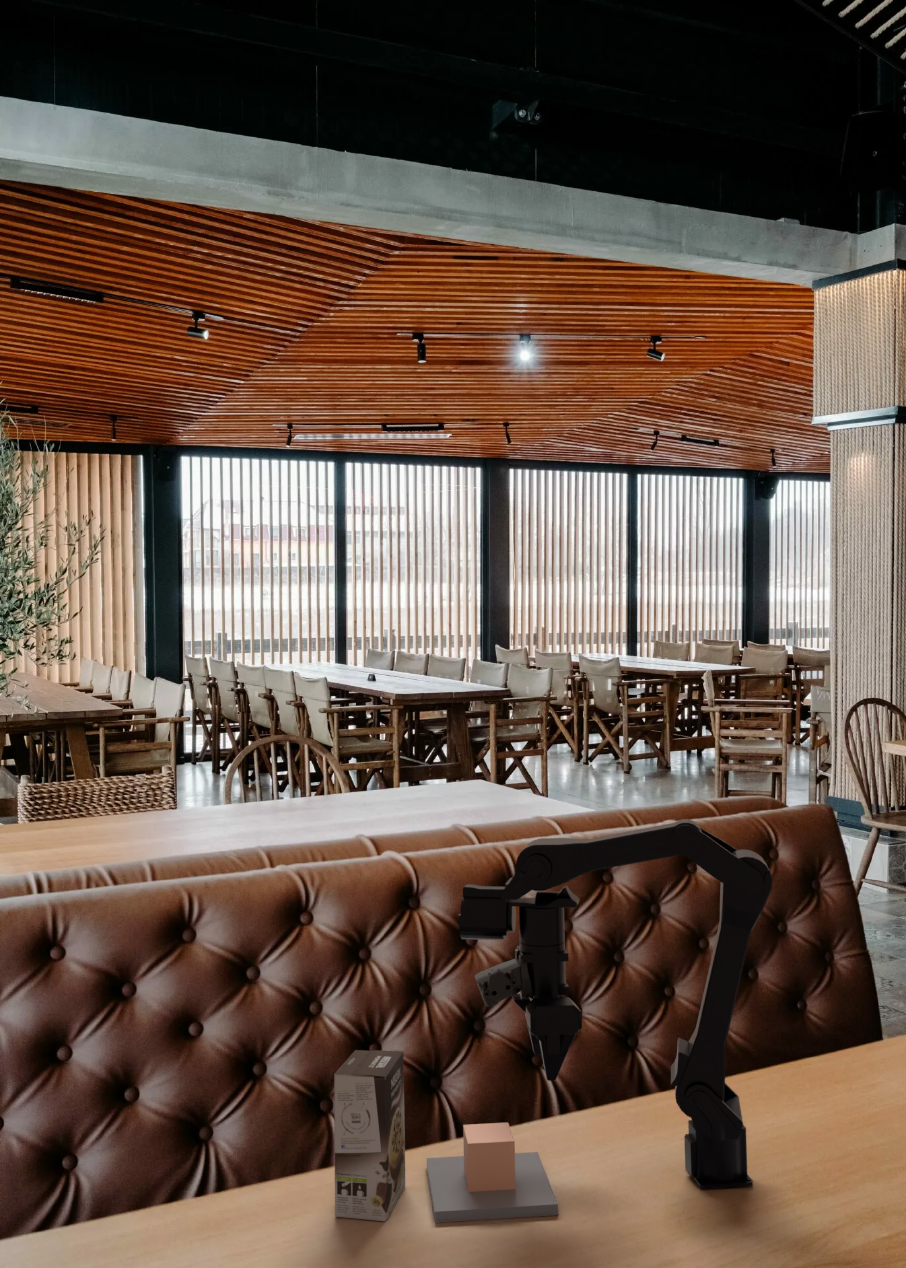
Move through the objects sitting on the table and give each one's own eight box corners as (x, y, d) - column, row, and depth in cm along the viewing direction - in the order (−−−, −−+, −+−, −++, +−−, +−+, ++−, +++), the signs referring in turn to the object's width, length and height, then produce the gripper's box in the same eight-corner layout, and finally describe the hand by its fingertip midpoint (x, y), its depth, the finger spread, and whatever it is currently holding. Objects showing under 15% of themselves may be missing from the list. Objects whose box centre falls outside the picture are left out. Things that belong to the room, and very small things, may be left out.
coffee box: (388, 1222, 122) (386, 1076, 123) (333, 1218, 124) (331, 1073, 124) (407, 1186, 131) (405, 1049, 132) (356, 1182, 132) (354, 1047, 133)
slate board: (537, 1161, 137) (537, 1151, 137) (558, 1215, 123) (558, 1204, 123) (426, 1168, 136) (426, 1158, 136) (435, 1222, 122) (434, 1211, 122)
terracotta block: (508, 1168, 133) (508, 1122, 133) (515, 1189, 127) (514, 1141, 127) (464, 1171, 132) (463, 1124, 132) (468, 1192, 127) (467, 1143, 127)
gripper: (470, 927, 146) (472, 1045, 145) (487, 962, 128) (490, 1098, 127) (552, 924, 147) (555, 1042, 146) (581, 958, 129) (584, 1093, 128)
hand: (544, 1067), depth 137 cm, fingers open, 9 cm apart
